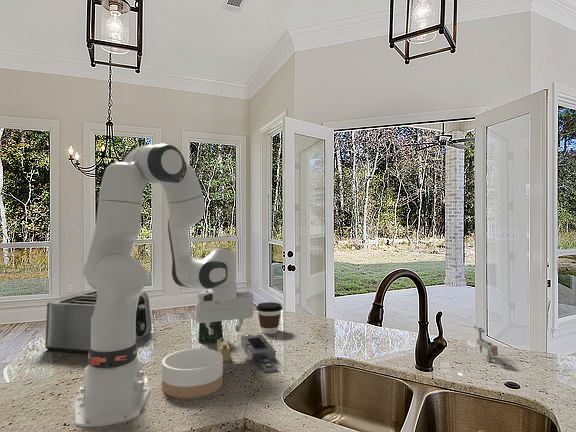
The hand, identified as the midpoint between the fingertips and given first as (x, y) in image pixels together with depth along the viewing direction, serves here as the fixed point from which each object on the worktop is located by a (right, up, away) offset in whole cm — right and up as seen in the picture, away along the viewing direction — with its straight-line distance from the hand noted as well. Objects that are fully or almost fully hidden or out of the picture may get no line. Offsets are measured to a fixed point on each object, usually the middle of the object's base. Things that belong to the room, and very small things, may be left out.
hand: (224, 332), depth 136 cm
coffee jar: (-8, -9, +16) cm, 20 cm away
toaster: (-51, -9, +14) cm, 53 cm away
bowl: (-6, -9, -23) cm, 25 cm away
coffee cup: (+14, -9, +28) cm, 32 cm away
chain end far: (+8, -9, +11) cm, 16 cm away
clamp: (+91, -9, 0) cm, 92 cm away
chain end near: (+14, -9, -6) cm, 18 cm away
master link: (-1, -9, 0) cm, 9 cm away
